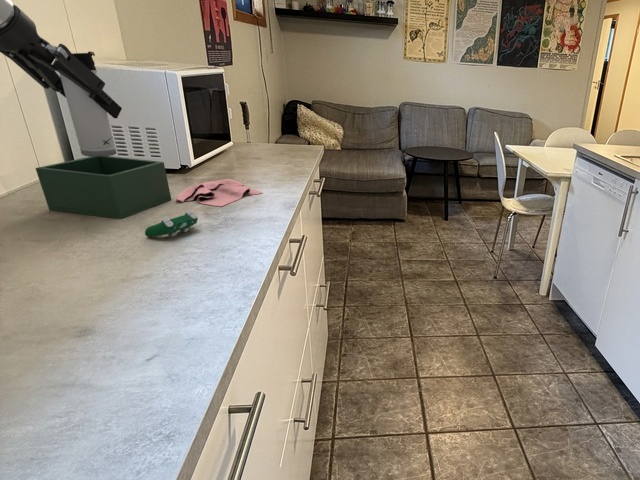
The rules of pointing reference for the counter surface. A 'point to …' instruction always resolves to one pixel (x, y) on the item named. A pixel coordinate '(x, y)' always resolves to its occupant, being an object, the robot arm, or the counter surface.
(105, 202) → the tote
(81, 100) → the travel mug
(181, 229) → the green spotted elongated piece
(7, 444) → the counter surface
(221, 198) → the cloth
